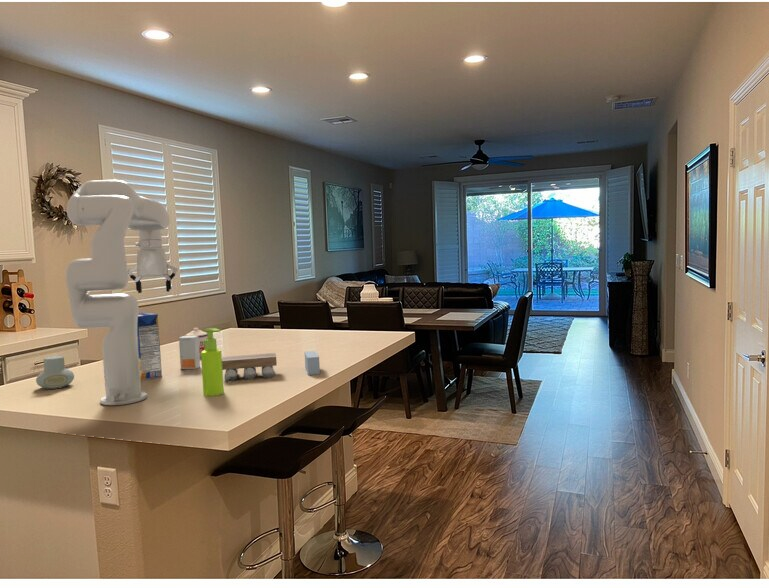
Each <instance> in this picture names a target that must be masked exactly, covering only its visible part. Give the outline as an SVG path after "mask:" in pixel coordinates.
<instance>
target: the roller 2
mask: <svg viewBox="0 0 769 588" xmlns="http://www.w3.org/2000/svg"><path fill="white" fill-rule="evenodd" d="M274 371H275V370H274V366H265V367H261V376H262V378H263V379H272V378H273V376H274V375H275V372H274Z"/></svg>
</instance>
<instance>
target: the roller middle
mask: <svg viewBox="0 0 769 588" xmlns="http://www.w3.org/2000/svg"><path fill="white" fill-rule="evenodd" d="M242 376H243V378H244V379H245V380H247V381H252V380H251V379H253V380H254V379H255V378H256V376H257V367H253V368H243V375H242Z"/></svg>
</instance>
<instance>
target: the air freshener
mask: <svg viewBox="0 0 769 588" xmlns="http://www.w3.org/2000/svg"><path fill="white" fill-rule="evenodd" d="M65 366H66V365H65V357H64V356H63V355H55V356H48V357H45V358H44V359H43V369H44V371H41V372H40V373H39V374H38V375H36V379H35V382H36V384H37V385H38V386H39V387H41V388H43V389H48V390H57V388H59V389H62V388H64V387H67V386H68V385H69V384H71V383H72V382H73V381H74V379H75V374H74V372H73V371H72V370H70V369H68V368H66V367H65Z"/></svg>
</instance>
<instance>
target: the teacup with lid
mask: <svg viewBox="0 0 769 588" xmlns="http://www.w3.org/2000/svg"><path fill="white" fill-rule="evenodd" d="M184 336H198V339H199V358H201V352H202V351H204V350H205V340H206V339H207V331H203V330H201V329H199V327H194V328H193V330H191V331H190V332H188V333H186V334H185V335H184Z"/></svg>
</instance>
